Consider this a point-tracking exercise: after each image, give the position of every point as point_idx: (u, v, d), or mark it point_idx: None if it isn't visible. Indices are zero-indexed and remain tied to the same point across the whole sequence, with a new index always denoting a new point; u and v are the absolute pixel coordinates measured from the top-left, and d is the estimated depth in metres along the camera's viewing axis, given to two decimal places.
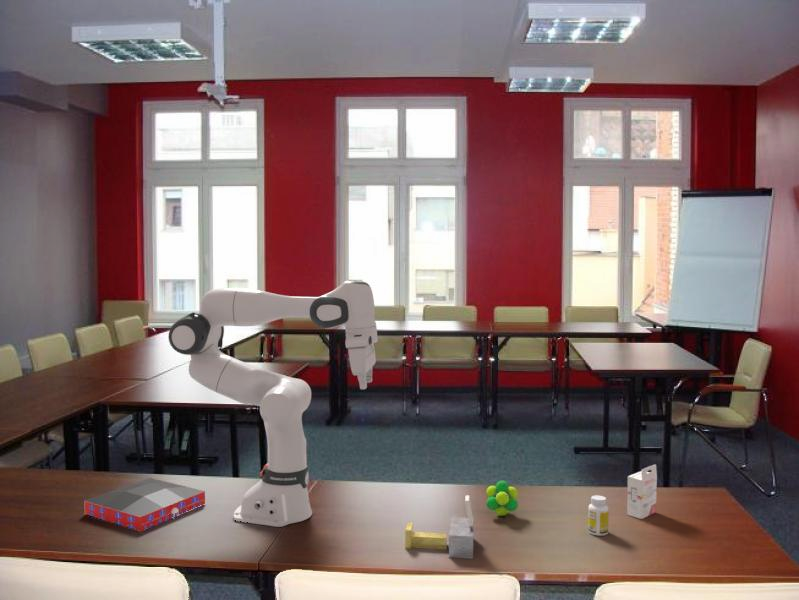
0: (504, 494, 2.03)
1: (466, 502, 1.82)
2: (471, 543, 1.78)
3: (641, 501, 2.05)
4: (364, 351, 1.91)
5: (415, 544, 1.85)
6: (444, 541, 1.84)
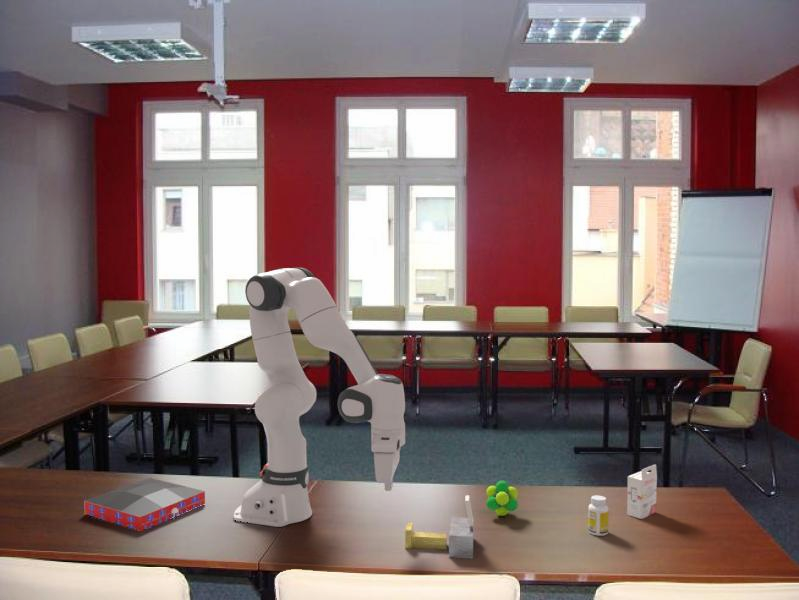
0: (504, 494, 2.03)
1: (466, 502, 1.82)
2: (471, 543, 1.78)
3: (641, 501, 2.05)
4: (391, 458, 1.76)
5: (415, 544, 1.85)
6: (444, 541, 1.84)
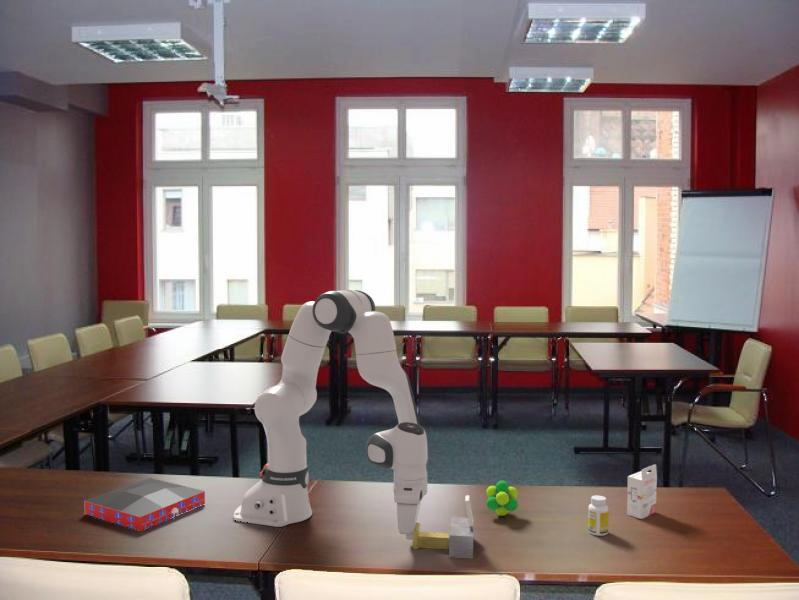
0: (504, 494, 2.03)
1: (466, 502, 1.82)
2: (471, 543, 1.78)
3: (641, 501, 2.05)
4: (414, 509, 1.76)
5: (422, 544, 1.85)
6: None
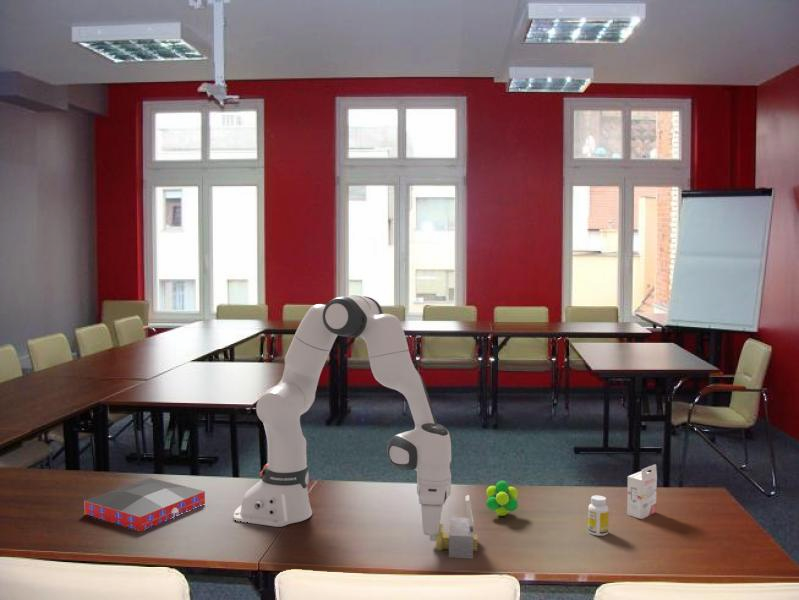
0: (504, 494, 2.03)
1: (466, 502, 1.82)
2: (471, 543, 1.78)
3: (641, 501, 2.05)
4: (439, 511, 1.76)
5: (446, 545, 1.84)
6: (475, 542, 1.83)
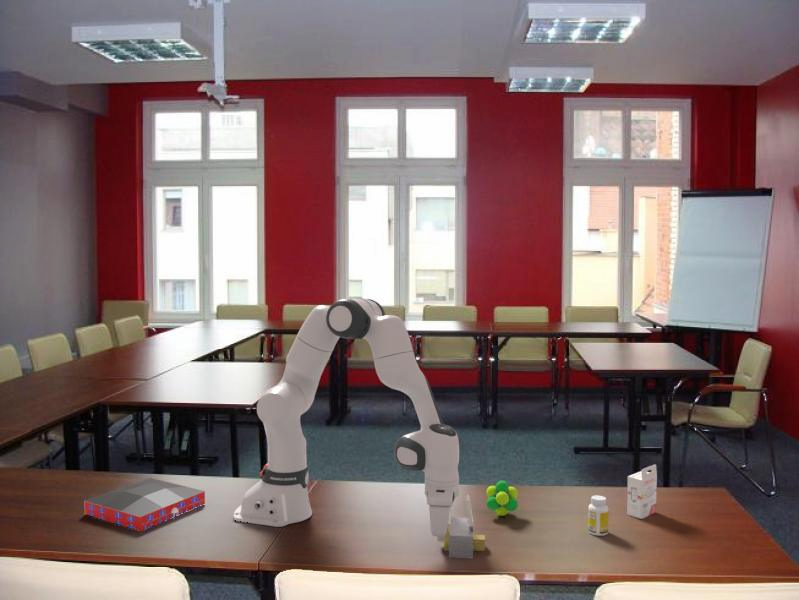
0: (504, 494, 2.03)
1: (466, 502, 1.82)
2: (471, 543, 1.78)
3: (641, 501, 2.05)
4: (447, 511, 1.75)
5: None
6: (483, 543, 1.83)
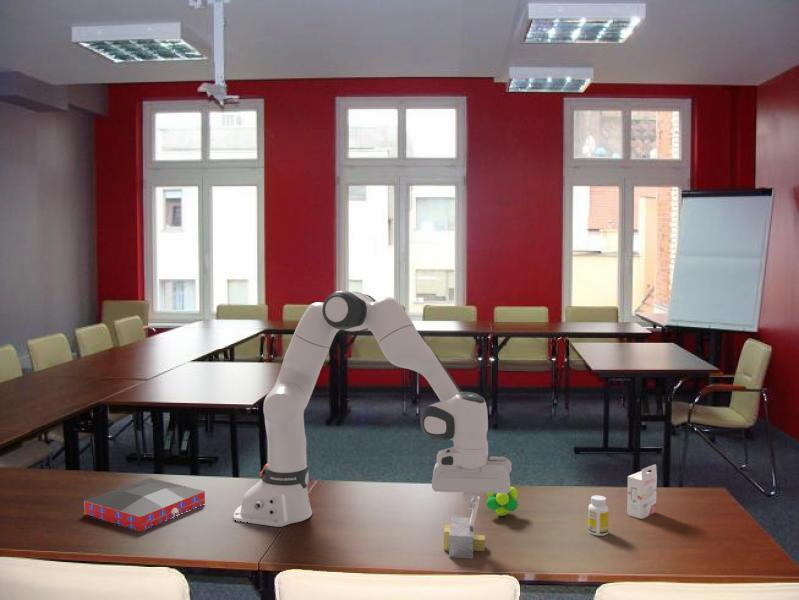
0: (504, 494, 2.03)
1: (476, 502, 1.82)
2: (471, 543, 1.78)
3: (641, 501, 2.05)
4: (434, 468, 1.82)
5: None
6: (483, 543, 1.83)
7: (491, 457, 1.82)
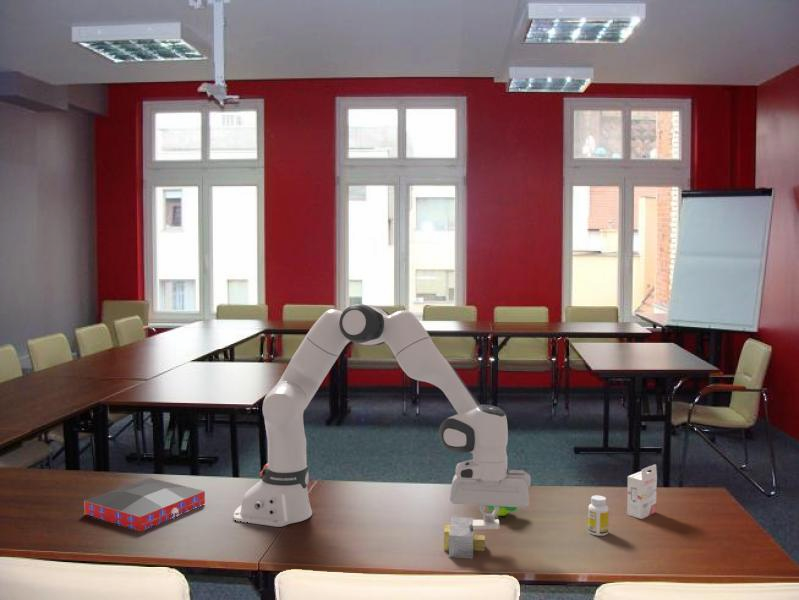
0: None
1: (497, 526, 1.82)
2: (471, 543, 1.78)
3: (641, 501, 2.05)
4: (453, 480, 1.82)
5: None
6: (483, 543, 1.83)
7: (510, 470, 1.82)
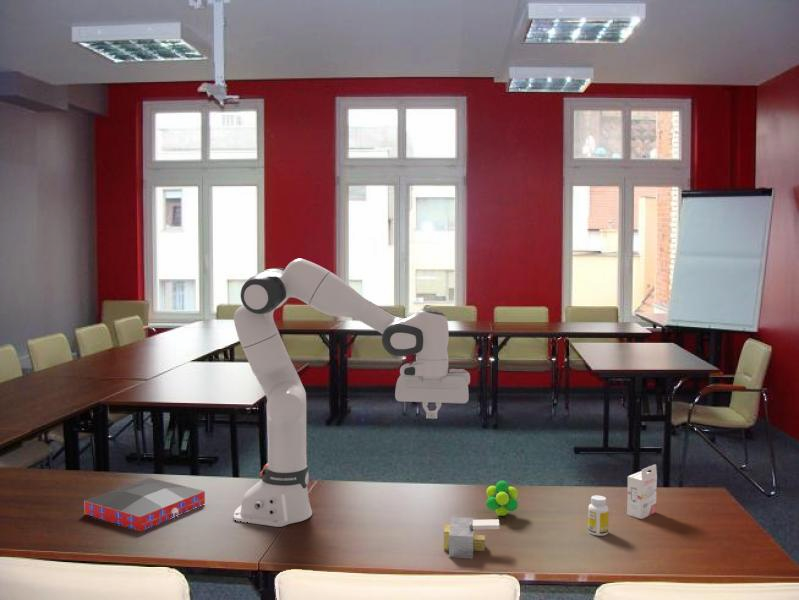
0: (504, 494, 2.03)
1: (497, 526, 1.82)
2: (471, 543, 1.78)
3: (641, 501, 2.05)
4: (398, 379, 1.94)
5: None
6: (483, 543, 1.83)
7: (451, 369, 1.94)
